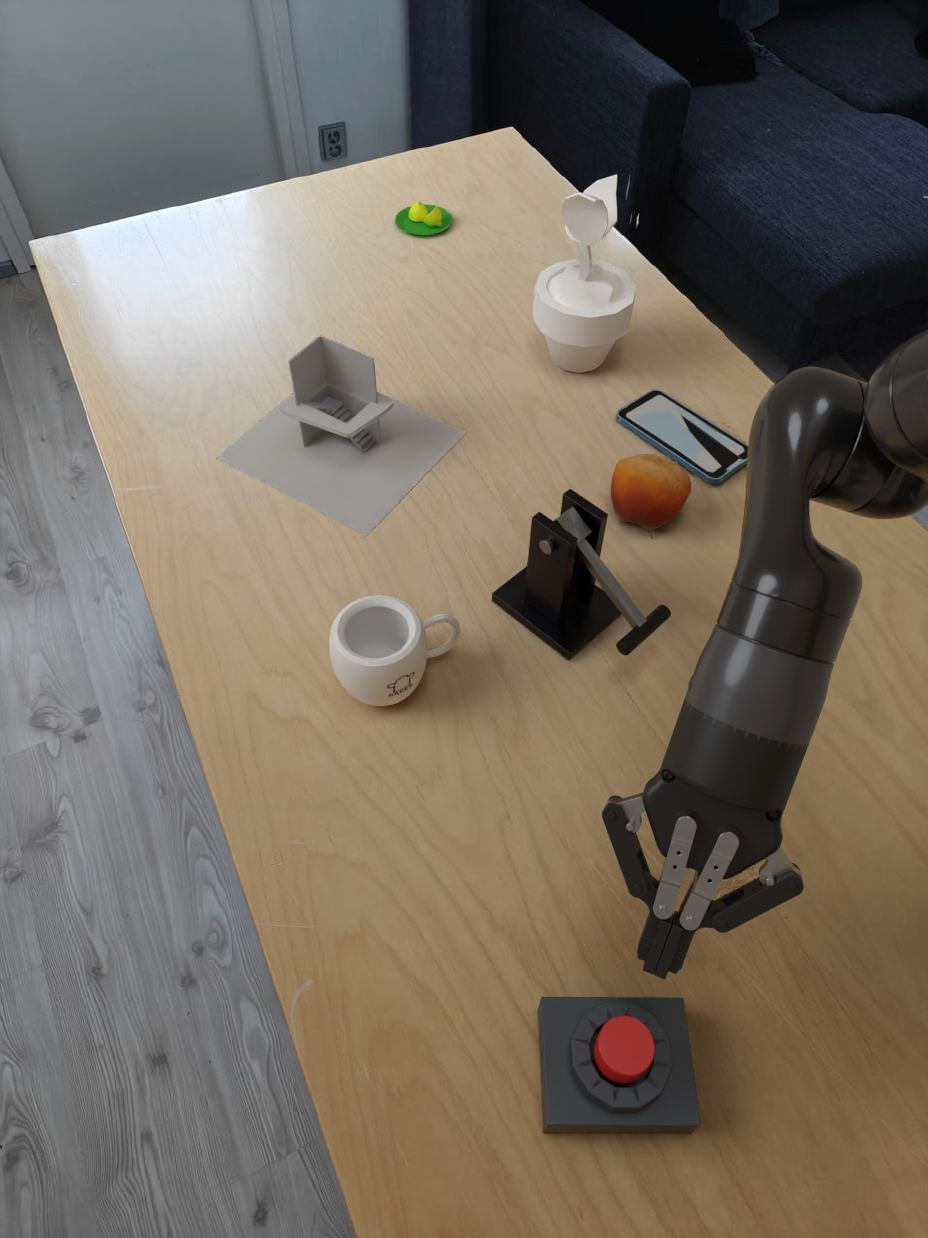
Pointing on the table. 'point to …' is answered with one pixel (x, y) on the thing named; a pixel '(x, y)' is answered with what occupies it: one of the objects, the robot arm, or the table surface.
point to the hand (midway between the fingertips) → (654, 969)
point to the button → (624, 1049)
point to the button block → (597, 1102)
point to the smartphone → (684, 435)
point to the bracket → (560, 583)
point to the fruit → (648, 490)
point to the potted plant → (585, 286)
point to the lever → (613, 586)
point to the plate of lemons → (423, 219)
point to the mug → (383, 648)
